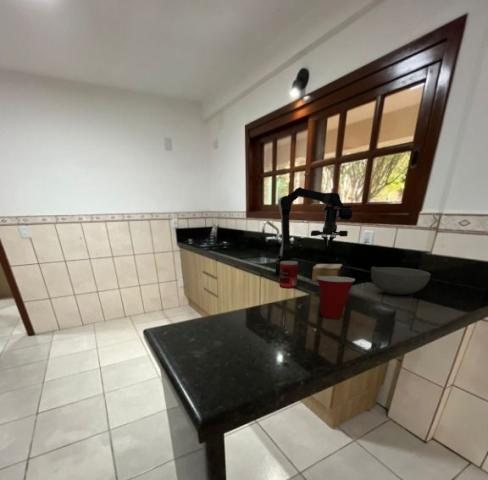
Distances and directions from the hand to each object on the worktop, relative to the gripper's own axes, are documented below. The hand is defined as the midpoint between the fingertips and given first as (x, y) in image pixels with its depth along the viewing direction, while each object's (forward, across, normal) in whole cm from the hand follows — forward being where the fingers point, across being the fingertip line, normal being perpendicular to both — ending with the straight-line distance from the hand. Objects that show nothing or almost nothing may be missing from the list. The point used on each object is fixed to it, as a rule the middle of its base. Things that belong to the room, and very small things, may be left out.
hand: (327, 249), depth 145 cm
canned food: (+13, -10, -42) cm, 45 cm away
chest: (+13, +3, -17) cm, 22 cm away
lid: (+7, +3, -17) cm, 19 cm away
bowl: (+13, +33, -37) cm, 51 cm away
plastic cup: (+13, +13, -75) cm, 77 cm away
